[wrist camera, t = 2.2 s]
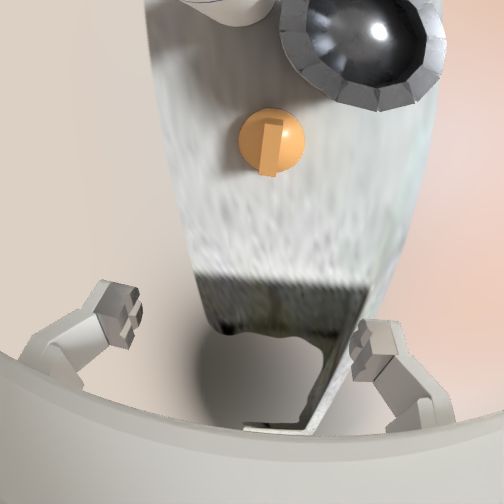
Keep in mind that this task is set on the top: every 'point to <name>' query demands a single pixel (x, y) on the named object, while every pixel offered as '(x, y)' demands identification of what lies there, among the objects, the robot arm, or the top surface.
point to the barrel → (365, 49)
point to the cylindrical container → (233, 10)
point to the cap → (271, 141)
